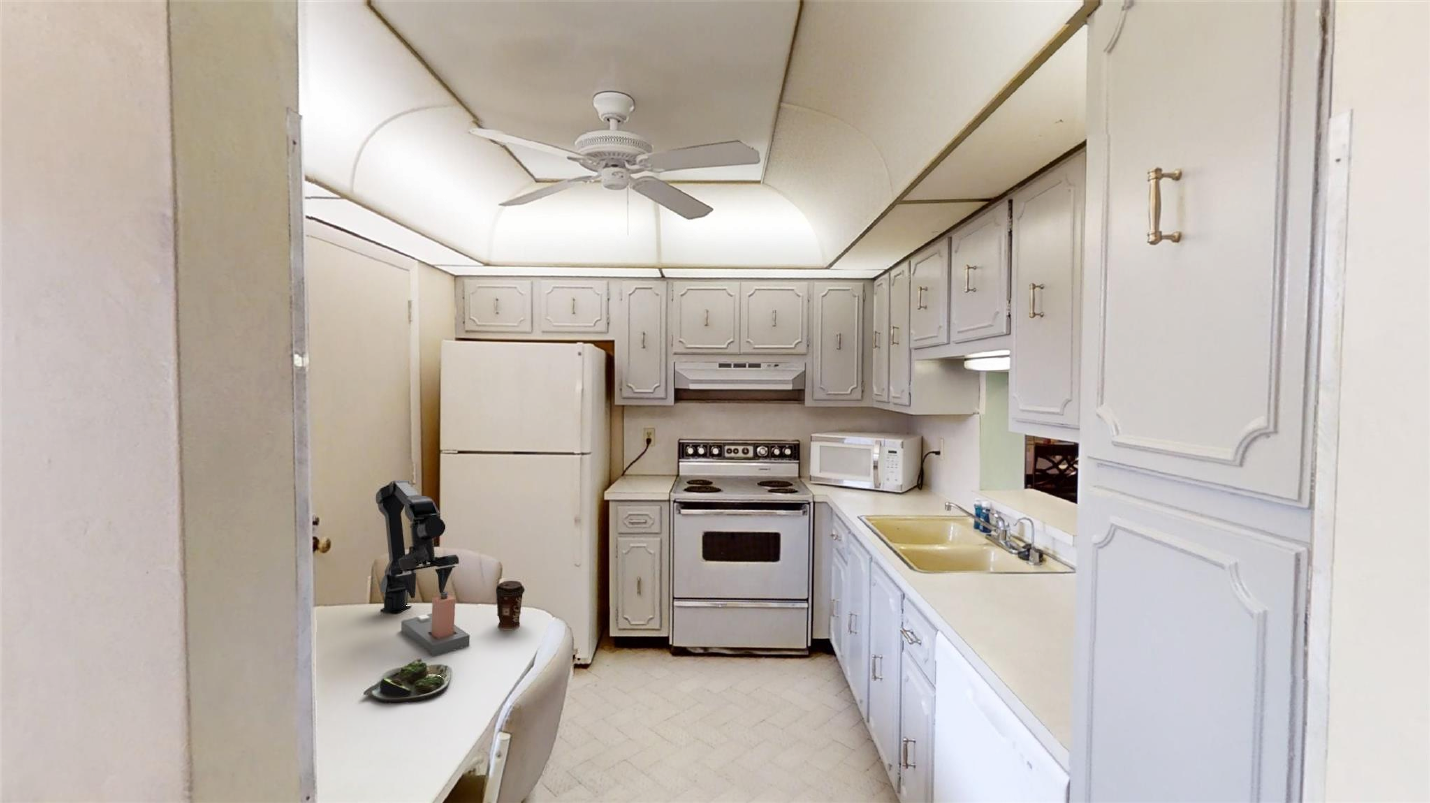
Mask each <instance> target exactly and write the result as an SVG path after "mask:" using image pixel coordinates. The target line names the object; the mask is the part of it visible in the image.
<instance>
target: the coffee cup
mask: <svg viewBox="0 0 1430 803" xmlns="http://www.w3.org/2000/svg"><path fill="white" fill-rule="evenodd" d="M525 591H526V590H525V587H524V586H523V584H522V582H520V581H517V580H505V581H502V582H500V583H498V585H497V586H496V588H495V592H496V593H495V594H496V608H497V609H496V610H497V611H496V612H497V613H496V614H497V615H496V616H498V621H499V622H498V624H497V628H498V629H500V630H502V631H512V630H516V629H518V628H520V624H521V622H520V616H521V610H522V602H523V601H522V600H523V594H524V593H525Z"/></svg>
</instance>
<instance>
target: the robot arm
mask: <svg viewBox="0 0 1430 803" xmlns="http://www.w3.org/2000/svg"><path fill="white" fill-rule="evenodd" d="M375 503H376V504H377V507H378V511H379V512H380V513H381V514H382V515H383V516H384V520H385V521H384V522H385V527H386V528H385V529H386V538H387V539H386V540H387V550H388V560H389V561H388V563H387V565H386V567H385V569H384V575H383V577H382V579H381V581H380V583H379V592H381V593H382V594H383V595H384V598H383V599H384V600H383V607H382V608H380V611H381V612H383V613H384V612H385V613H392V614H399V613H401V612H404V611H405V610H408V609H410V608H412V605H411V606H406V605H408V603H409V602H408V599H409V598H408V597H409V596H410V599H414V598H416V584H417V583H416V582H417V573H416V572H415V571H418V570H423V569H428V568H433V567H437V568H435V569H434V571H435V573H436V575H437V581H438V582H437V585H438V590H439V594H441V592H445V588H446V586H447V582H448V580H449V578H450V574H451V573H452V571H453V569H454V568H456V565H459V564H460V560H459V556H458V555H457V554H450V555H444V556H439V557H438V556H435V555H436V554H435V547H437V546H438V545H437V542H434V539H435V538H436V539H437V538H439V537H441V536H443V534H444V532H446V523H445V522H444V520H443V519H441V511H440V510H439V509H438V507H437V506H436V503H435V502H434V500H433V499H432V498H431V497H429V496H425V495H420V494H419V493H418V492H417V491H416V490H415V489H414V488H413V487H412V485H410V482H409V480H406V479H399V480H392V481H390V482H389V483H388V484H387V485H385V486H383V487H381V488H380V489H379V490H378V491H377V492H376V494H375ZM403 510H404V515H405V516H406V518H407V519H408V521H409V522H410V523H411V524H410V525H409V528H410V533H411V534H410V535H411V546H409V548H408V553H406V547H405V537H404V529H403V520H402V512H403Z"/></svg>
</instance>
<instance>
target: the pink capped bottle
mask: <svg viewBox="0 0 1430 803" xmlns="http://www.w3.org/2000/svg"><path fill="white" fill-rule="evenodd" d="M431 601H432V603H431V605H432V606H431V608H432V609H431V614H432V626H431V636H432V637H433V638H435V639H436V640H437V639H440V638H444V637H447V636H451V635H454V625H455V618H456V617H455V615H456V612H455V611H456V597H455V596H452V595H450V594H448V591H443V592H441V593H440V596H435V597H434V596H433V597H432V600H431Z"/></svg>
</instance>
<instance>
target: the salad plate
mask: <svg viewBox="0 0 1430 803" xmlns="http://www.w3.org/2000/svg"><path fill="white" fill-rule="evenodd" d="M452 671H453V669H452V667H451V666H449V665H447V664H444V663H436V664H435V663H434V664H428V665H427V663H426V662H424V661H423V660H422V658H417V659H415V660H413V661H411V662H410V663H409V662H408V664H406V665H404V666H400V667H395V668H392V669H390V670H388V671H386V672H384V673H382V675H381V676H380V677H379V679H378V681H376V684H374V685H371V686H369V687H368V688H367V689H366V690H364V691H363V696H369V697H370V698H373V699H374V700H376V701H377V702H379V703H383V704H405V703H406V704H407V702H408V703H416V702H423V701H427V700H428V701H429V700H430V699H433V698H436V697H437V696H439V695H441V694H442V693H443V692H444V691H445V690H446V689H447V688H448V687H449V685H450V679H451V677H452V674H453V672H452ZM429 674H430V675H429ZM438 675H440V676H441V677H440V676H438Z"/></svg>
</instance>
